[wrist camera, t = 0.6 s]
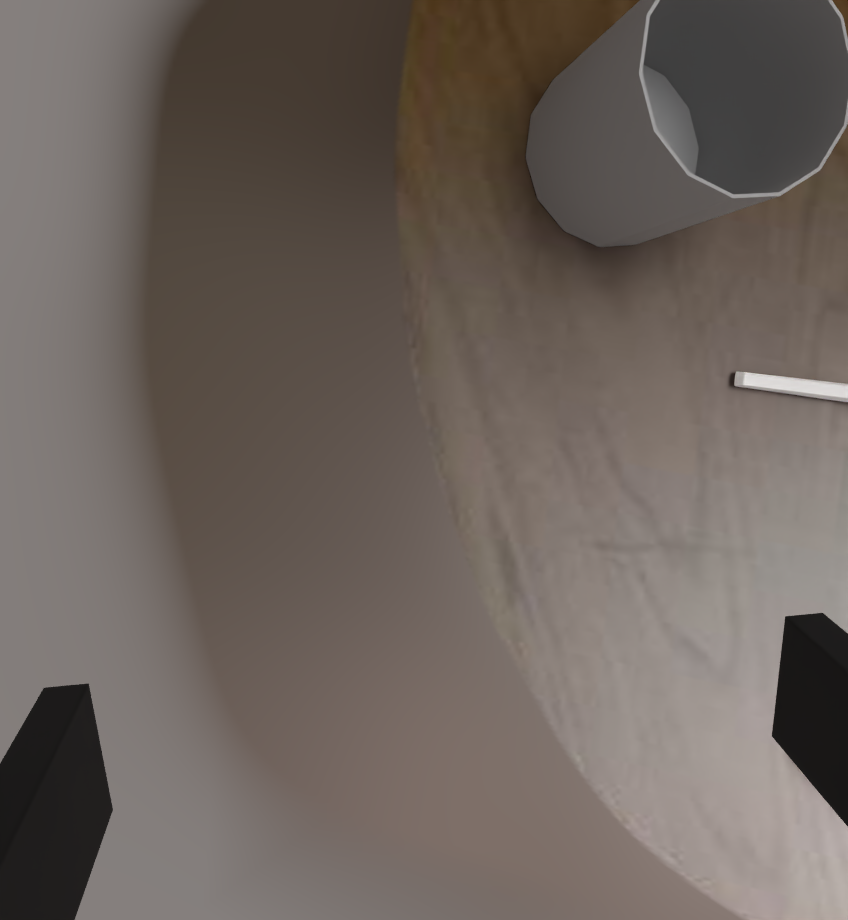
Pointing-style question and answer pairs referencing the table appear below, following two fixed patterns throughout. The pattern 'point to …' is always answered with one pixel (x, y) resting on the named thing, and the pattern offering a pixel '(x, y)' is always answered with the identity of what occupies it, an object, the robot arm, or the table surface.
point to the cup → (689, 115)
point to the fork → (793, 386)
